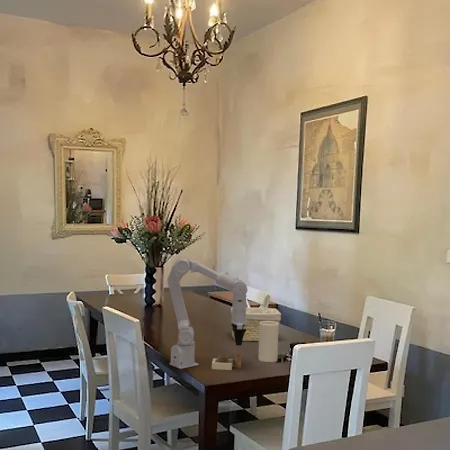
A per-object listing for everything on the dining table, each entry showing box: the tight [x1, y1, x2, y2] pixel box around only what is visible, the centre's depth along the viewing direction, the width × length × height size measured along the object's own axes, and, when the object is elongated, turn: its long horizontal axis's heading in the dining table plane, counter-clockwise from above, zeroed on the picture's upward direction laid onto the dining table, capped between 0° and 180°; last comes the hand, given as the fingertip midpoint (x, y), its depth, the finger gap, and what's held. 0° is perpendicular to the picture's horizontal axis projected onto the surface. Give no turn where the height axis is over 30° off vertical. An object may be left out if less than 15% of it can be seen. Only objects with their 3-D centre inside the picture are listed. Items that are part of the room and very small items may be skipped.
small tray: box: [211, 357, 234, 371], centre depth 218 cm, size 8×7×2 cm
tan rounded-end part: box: [217, 353, 242, 370], centre depth 218 cm, size 9×4×6 cm, turn 86°
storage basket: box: [230, 306, 282, 343], centre depth 269 cm, size 24×16×15 cm
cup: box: [258, 321, 280, 363], centre depth 231 cm, size 8×8×16 cm
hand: (238, 343), depth 220 cm, fingers open, 7 cm apart
